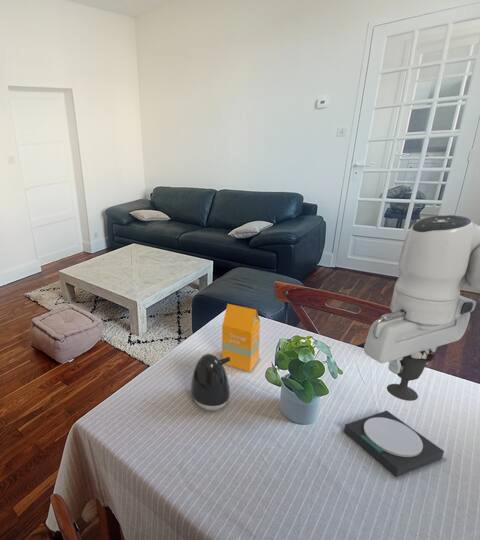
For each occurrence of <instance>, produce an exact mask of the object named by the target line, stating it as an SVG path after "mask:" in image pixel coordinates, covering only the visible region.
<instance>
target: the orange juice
mask: <svg viewBox="0 0 480 540" xmlns="http://www.w3.org/2000/svg"><path fill="white" fill-rule="evenodd" d="M260 331H261V319H260V316H259V313H258V311H257V309H255V308H251V307H246V306H241V305H236V304H231V303H227V304H226V308H225V312H224V316H223V322H222V325H221V352H222V353H221V357H222V358H221V359H223V358H226V357H230V361H229V362H227V363H225V364H224V365H228V366H231V367H233V368H237V369H239V370H243V371H246V372H252V370H253V368H254V366H256V363H257V362H258V360H259V354H260Z"/></svg>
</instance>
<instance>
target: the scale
mask: <svg viewBox="0 0 480 540" xmlns="http://www.w3.org/2000/svg"><path fill="white" fill-rule="evenodd" d="M343 433H344V434H346V435H347V436H348V437H349V438H350V439H351V440H352V441H353V442H355V443H356V444H357V445H358V446H359V447H361V449H362V450H364V451H365V452H366V453H367V454H369V456H370V457H372V458H373V459H374V460H375V461H376V462H378V463H379V464H380V465H381V466H382V467H383V468H385V469H386V470H387V471H388V472H389V473H390V474H391V475H393V476H394V477H395V478H397V477H400V476H403V475H405V474H408V473H410V472H412V471H415V470H418V469H420V468H423V467H425V466H428V465H430V464H433V463H436V462H438V461H440V460H442V459H443V456H444V454H445V450H443V449H442V448H440V447H439V446H438V445H436V444H435V443H433V442H432V441H430V440H429V439H428V438H426V437H425V436H423V435H422V434H421V433H419V432H418V431H417V430H415V429H414V428H413V427H410V425H408V424H407V423H405V422H404V421H402V420H401V419H400V418H399V417H397V416H395V415H394V414H392V413H391V412H390V411H388V410H384V411H381V412H378V413H375V414H372V415H369V416H366V417H364V418H363V417H362V418H360V419H358V420H354V421H352V422H349V423H346V424H344V429H343Z"/></svg>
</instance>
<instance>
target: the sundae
mask: <svg viewBox="0 0 480 540" xmlns="http://www.w3.org/2000/svg"><path fill="white" fill-rule="evenodd" d="M435 358H436V354H435V352H432V351H431V350H429V349H428V350H425V351H421V352H418V353H415V354H412V355H409V356H405V357H403V359H402V360H400V363H401V364H403V365H404V369H403V372H401V373H398V374H396V375H397V376H398V377H399V378H400V383H390V384H388V385H387V386H386V390H387V392H388V393H389V394H390V395H392V396H393V397H395V398H396V399H398V400H402V401H407V402H413V401H416V400H418V399H419V395H418V393H417V392H416V391H415V390H414V389H413V388H411V387H410V386H409V382H410V381H415V380H418V379H419V378H420V377H421V375H422V374H423V372H424V370H425V368H426V364H427V362H428V363H431V362H433V361H434V360H435ZM427 365H428V364H427Z"/></svg>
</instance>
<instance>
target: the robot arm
mask: <svg viewBox="0 0 480 540" xmlns="http://www.w3.org/2000/svg"><path fill="white" fill-rule="evenodd" d="M399 255H400V256H399V261H398V270H399V275H398V277H397V279H396V281H395V283H394V287H393V292H392V296H391V300H390V307H389V309H390V311H391V313H385V314H382V315H381V316H380V318H378V319H376V320H375V321H374V322H372V324H371V325H370V327H369V329H368V332H367V336H366V338H365V342H364V345H363V352H364V353H365V355H366V356H367V357H369V358H371V359H373V360H374V361H376V362H378V363H379V364H386V363H388V368H387V369H388V370H389V371H390V372H392V374H394V375H397V374H398V373H401V372H403V369H404V365H403V364H401V363H400V360H402V359H403V357H405V356H409V355H412V354H415V353H418V352H421V351H425V350H428V349H429V350H431V351H432V352H434V353H435V352H436V351H437V348H438V347H441V346H445V345H448V344H451V343H455V342H458V341H459V340H460V339H462V337H463V336H464V335H465V333H466V330H467V327H468V324H469V321H470V318H471V313H472V312H474V310H475V308H476V306H477V301H475V300H474V299H472V298H469V297H465V296H463V295H461V289H462V288H464V287H473V288H474V289H477V290H479V291H480V225H478V224H476V223H474V222H473V221H472V219H470V218H469V217H466V216H461V215H453V214H452V215H451V214H449V215H433V216H429V217H424V218H421V219H419V220H417V221H415V222H413V224H412V225H411V226H410V228H409V229H408V231H407V233H406V236H405V237H404V241H403V243H402V248H401V251H400V254H399ZM428 364H429V362H427V364H426V365H428Z"/></svg>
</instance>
